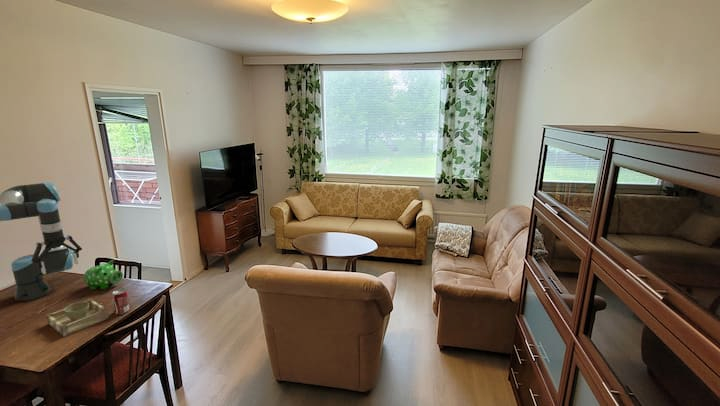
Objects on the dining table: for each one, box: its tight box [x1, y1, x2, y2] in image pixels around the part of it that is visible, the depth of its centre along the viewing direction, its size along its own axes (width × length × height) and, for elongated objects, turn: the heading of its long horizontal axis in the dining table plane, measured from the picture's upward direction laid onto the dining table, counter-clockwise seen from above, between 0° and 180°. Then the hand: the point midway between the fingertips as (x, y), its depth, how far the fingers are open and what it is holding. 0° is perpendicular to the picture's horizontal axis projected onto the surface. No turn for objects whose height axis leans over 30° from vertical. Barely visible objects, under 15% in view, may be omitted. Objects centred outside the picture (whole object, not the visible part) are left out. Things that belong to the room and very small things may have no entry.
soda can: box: [111, 288, 130, 315], centre depth 183 cm, size 7×7×12 cm
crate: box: [46, 298, 110, 338], centre depth 175 cm, size 19×19×5 cm
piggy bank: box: [83, 259, 124, 290], centre depth 210 cm, size 14×18×15 cm
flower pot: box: [63, 301, 89, 321], centre depth 175 cm, size 10×10×7 cm
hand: (60, 268), depth 179 cm, fingers open, 13 cm apart
